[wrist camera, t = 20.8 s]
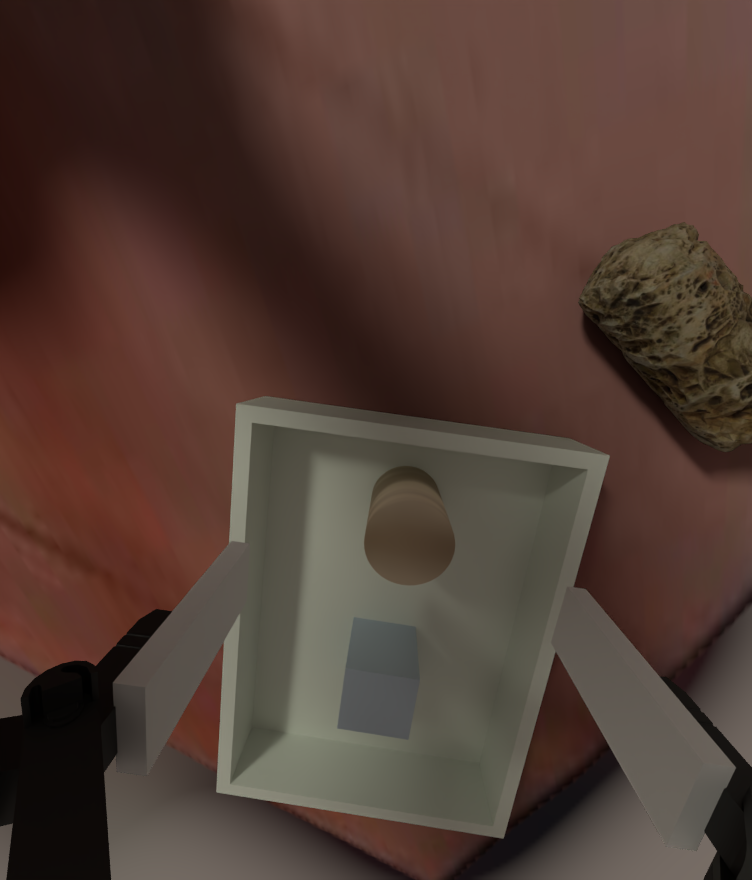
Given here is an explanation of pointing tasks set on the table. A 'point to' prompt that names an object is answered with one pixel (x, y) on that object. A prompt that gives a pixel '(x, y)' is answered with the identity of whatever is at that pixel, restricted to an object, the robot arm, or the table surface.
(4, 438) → the table surface
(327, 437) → the tote
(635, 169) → the table surface
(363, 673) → the slate cube
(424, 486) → the beech cylinder
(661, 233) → the coral
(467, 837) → the table surface
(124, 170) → the table surface
